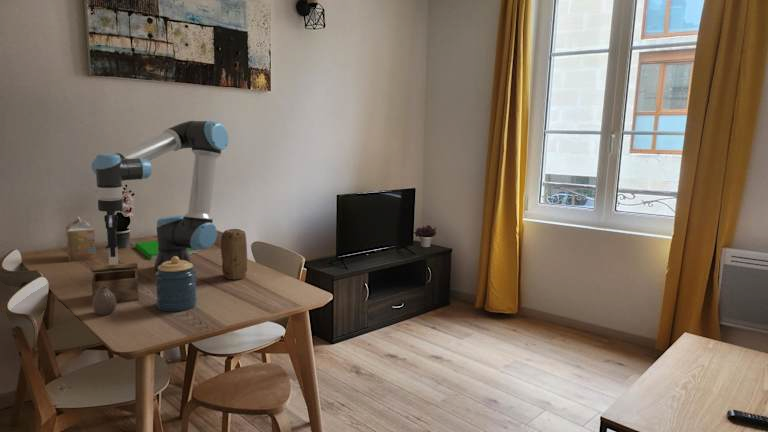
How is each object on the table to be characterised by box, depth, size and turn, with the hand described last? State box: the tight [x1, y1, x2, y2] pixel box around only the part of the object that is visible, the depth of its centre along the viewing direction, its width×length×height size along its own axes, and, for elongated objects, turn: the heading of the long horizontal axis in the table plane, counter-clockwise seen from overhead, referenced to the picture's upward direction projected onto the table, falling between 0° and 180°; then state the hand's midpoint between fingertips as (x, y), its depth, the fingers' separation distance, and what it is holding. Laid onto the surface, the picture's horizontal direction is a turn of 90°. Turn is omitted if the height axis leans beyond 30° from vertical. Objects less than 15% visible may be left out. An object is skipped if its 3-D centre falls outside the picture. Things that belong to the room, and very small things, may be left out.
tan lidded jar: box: [65, 216, 97, 263], centre depth 231 cm, size 11×11×19 cm
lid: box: [89, 262, 138, 274], centre depth 180 cm, size 14×12×1 cm
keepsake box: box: [91, 269, 140, 304], centre depth 181 cm, size 14×12×8 cm
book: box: [134, 240, 198, 261], centre depth 251 cm, size 22×28×3 cm
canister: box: [154, 256, 198, 313], centre depth 173 cm, size 13×13×18 cm
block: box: [220, 228, 248, 281], centre depth 208 cm, size 11×8×20 cm
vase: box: [91, 287, 117, 316], centre depth 165 cm, size 7×7×9 cm
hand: (113, 264), depth 178 cm, fingers closed
